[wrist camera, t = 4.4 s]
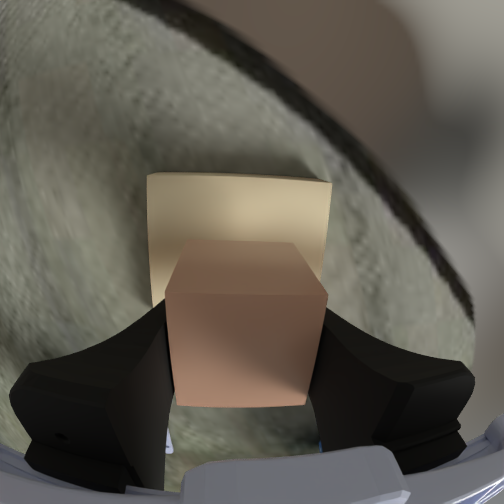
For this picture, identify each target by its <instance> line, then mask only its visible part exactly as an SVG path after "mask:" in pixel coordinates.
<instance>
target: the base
mask: <svg viewBox="0 0 504 504" xmlns="http://www.w3.org/2000/svg"><path fill="white" fill-rule="evenodd" d="M331 190H332V183H330V182H327V181H324V180H321V179H314V178H303V177H290V176H276V175H259V174H239V173H208V172H157V173H153V174H150V175H147V225H148V248H149V265H150V279H151V291H152V302H153V308H154V307H155V306H156V305H157V304H158V303H159V302H161V301H162V300H163V299H164V298H165V289H166V287H167V285H168V282H169V280H170V278H171V275H172V273H173V271H174V268H175V266H176V264H177V262H178V259H179V257H180V255H181V253H182V250H183V248H184V246H185V244H186V241H187V239H195V240H230V241H261V242H290V243H294V245H295V246H296V248H297V249H298V251H299V252H300V254H301V255H302V256H303V258H304V259H305V261H306V262H307V264H308V265H309V267H310V268H311V270H312V271H313V273H314V274H315V276H316V277H317V279H318V280H319V282H320V278H321V271H322V264H323V257H324V250H325V242H326V235H327V226H328V218H329V209H330V200H331Z"/></svg>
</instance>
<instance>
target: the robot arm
mask: <svg viewBox="0 0 504 504" xmlns="http://www.w3.org/2000/svg"><path fill="white" fill-rule="evenodd" d="M474 386H475V377H474V376H473V374H472V373H471V372H470V371H469V369H468V368H467V367H466V366H465V365H464V364H463V363H462V362H461V361H454V360H447V359H440V358H434V357H429V356H425V355H421V354H417V353H413V352H410V351H407V350H404V349H401V348H398V347H395V346H393V345H390V344H388V343H386V342H383V341H381V340H379V339H377V338H375V337H373V336H371V335H369V334H367V333H365V332H364V331H362V330H360V329H358V328H357V327H355V326H353V325H352V324H350V323H349V322H347V321H346V320H344V319H343V318H341V317H340V316H338V315H337V314H335V313H334V312H332V311H331V310H329V309H328V308H327V307H326V311H325V316H324V321H323V326H322V331H321V336H320V341H319V346H318V351H317V355H316V360H315V364H314V369H313V373H312V377H311V381H310V386H309V390H308V394H309V397H310V400H311V402H312V405H313V409H314V412H315V416H316V421H317V425H318V430H319V435H320V441H321V446H322V452H323V453H316V454H308V455H299V456H289V457H276V458H258V459H231V460H223V461H212V462H207V463H205V464H202V465H200V466H198V467H195V468H193V469H190V470H188V471H186V472H185V475H184V477H183V480H182V482H181V493H179V492H169V491H164V471H165V453H169V454H171V453H173V446H172V442H171V438H170V434H169V429H168V420H169V413H170V407H171V403H172V399H173V395H174V391H175V386H174V379H173V372H172V364H171V356H170V347H169V338H168V328H167V317H166V305H165V298H164V299H163V300H162V301H161V302H159V303H158V304H157V305H156V306H155V307H154V308H152V309H151V310H150V311H149V312H147V313H146V314H145V315H144V316H143V317H141V318H140V319H139V320H137V321H136V322H134V323H133V324H131V325H130V326H129V327H127V328H126V329H124V330H123V331H121V332H120V333H118V334H116V335H115V336H113V337H111V338H109V339H107V340H105V341H103V342H101V343H99V344H97V345H94V346H92V347H90V348H87V349H85V350H82V351H79V352H76V353H73V354H70V355H67V356H63V357H60V358H55V359H51V360H45V361H40V362H34V363H29V364H28V366H27V367H26V368H25V370H24V371H23V373H22V374H21V375H20V377H19V378H18V380H17V381H16V382H15V384H14V385H13V387H12V388H11V390H10V394H9V398H10V403H11V406H12V408H13V410H14V412H15V414H16V416H17V418H18V419H19V421H20V422H21V424H22V425H23V427H24V429H25V430H26V432H27V433H28V435H29V436H30V437H31V439H32V441H31V443H30V445H29V448H28V450H27V452H26V454H23V453H21V452H18V451H16V450H14V449H12V448H9V447H7V446H5V445H3V444H1V443H0V504H483V503H485V502H486V501H488V500H489V499H491V498H492V497H493V496H495V495H496V494H498V493H499V492H500V491H501V490H503V489H504V413H503V414H502V415H500V416H498V417H497V418H496V419H494V420H493V421H492V423H491V424H490V425H489V426H488V428H487V429H486V431H485V433H484V434H482V435H480V436H479V437H477V438H474V439H472V440H470V441H468V442H467V443H465V442H464V440H463V439H462V437H461V436H460V434H459V433H458V430H459V429H460V428H461V424H460V423H459V422H458V420H457V418H458V416H459V415H460V413H461V411H462V410H463V408H464V407H465V405H466V404H467V402H468V400H469V398H470V397H471V395H472V392H473V389H474Z"/></svg>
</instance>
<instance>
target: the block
mask: <svg viewBox="0 0 504 504" xmlns="http://www.w3.org/2000/svg"><path fill="white" fill-rule="evenodd" d="M327 300H328V293H327V292H326V290H325V289H324V287H323V286H322V284H321V283H320V282H319V280H318V279H317V277H316V276H315V274H314V273H313V271H312V270H311V268H310V267H309V265H308V264H307V262H306V261H305V259H304V258H303V256H302V255H301V254H300V252H299V251H298V249H297V248H296V246H295V245H294V243H290V242H261V241H230V240H195V239H187V241H186V244H185V246H184V248H183V250H182V253H181V255H180V257H179V259H178V262H177V264H176V266H175V268H174V271H173V273H172V275H171V278H170V280H169V282H168V285H167V287H166V289H165V305H166V317H167V328H168V338H169V347H170V356H171V364H172V372H173V379H174V386H175V393H176V400H177V405H181V406H198V407H277V406H294V405H305V402H306V398H307V394H308V390H309V386H310V381H311V377H312V373H313V369H314V364H315V360H316V355H317V351H318V346H319V341H320V336H321V331H322V326H323V321H324V316H325V311H326V305H327Z"/></svg>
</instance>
